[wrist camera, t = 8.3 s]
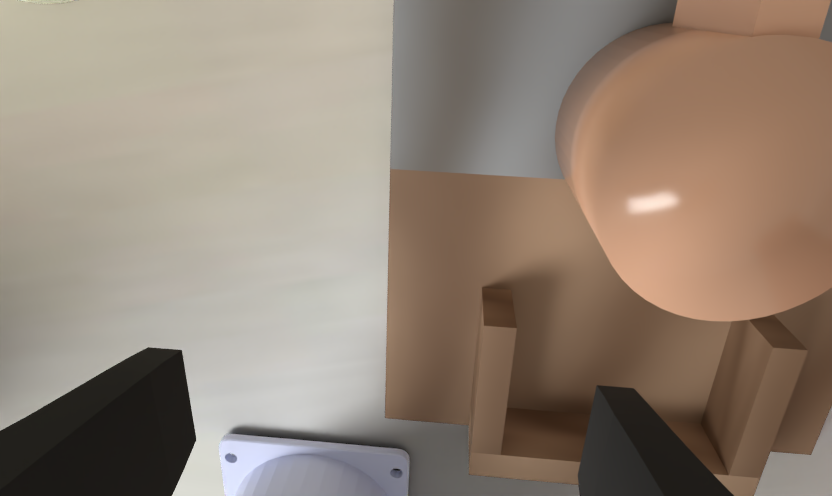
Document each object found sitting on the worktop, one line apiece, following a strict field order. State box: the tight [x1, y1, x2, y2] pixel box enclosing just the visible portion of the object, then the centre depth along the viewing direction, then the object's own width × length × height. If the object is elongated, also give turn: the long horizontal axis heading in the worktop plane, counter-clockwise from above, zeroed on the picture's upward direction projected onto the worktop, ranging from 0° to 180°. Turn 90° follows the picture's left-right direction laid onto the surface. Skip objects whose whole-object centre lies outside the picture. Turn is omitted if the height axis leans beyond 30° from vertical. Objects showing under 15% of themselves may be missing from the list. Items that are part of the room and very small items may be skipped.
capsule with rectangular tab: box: [555, 0, 832, 322], centre depth 14 cm, size 6×9×6 cm, turn 178°
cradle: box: [385, 0, 832, 496], centre depth 17 cm, size 16×20×3 cm
